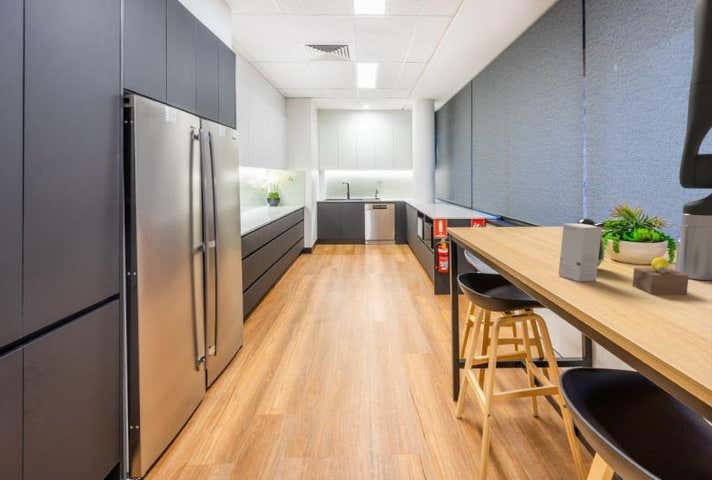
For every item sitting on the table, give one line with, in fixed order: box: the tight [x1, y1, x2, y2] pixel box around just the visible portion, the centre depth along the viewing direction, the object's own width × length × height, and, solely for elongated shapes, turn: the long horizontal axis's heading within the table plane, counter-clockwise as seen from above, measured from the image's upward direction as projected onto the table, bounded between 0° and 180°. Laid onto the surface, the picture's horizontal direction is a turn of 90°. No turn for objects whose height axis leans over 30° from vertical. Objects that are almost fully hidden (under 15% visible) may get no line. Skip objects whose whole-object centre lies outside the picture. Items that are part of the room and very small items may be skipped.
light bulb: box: [650, 257, 670, 274], centre depth 105 cm, size 3×6×4 cm, turn 155°
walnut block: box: [632, 267, 689, 296], centre depth 106 cm, size 8×8×5 cm
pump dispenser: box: [576, 218, 606, 267], centre depth 132 cm, size 10×10×15 cm
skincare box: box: [558, 223, 603, 283], centre depth 119 cm, size 8×6×15 cm
